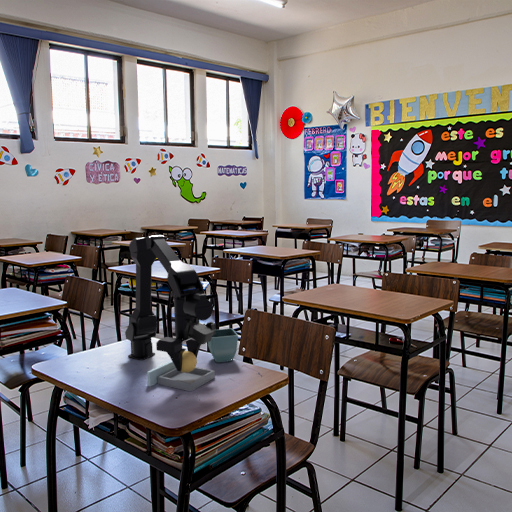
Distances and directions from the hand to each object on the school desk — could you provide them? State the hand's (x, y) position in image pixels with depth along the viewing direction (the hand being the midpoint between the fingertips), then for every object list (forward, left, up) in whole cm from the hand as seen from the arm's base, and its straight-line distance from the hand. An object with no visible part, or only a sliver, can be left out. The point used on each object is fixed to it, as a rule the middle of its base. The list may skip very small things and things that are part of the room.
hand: (186, 367), depth 140 cm
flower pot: (-1, +20, -4) cm, 20 cm away
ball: (0, 0, -1) cm, 1 cm away
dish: (0, 0, -4) cm, 4 cm away
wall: (-7, -1, -4) cm, 8 cm away
